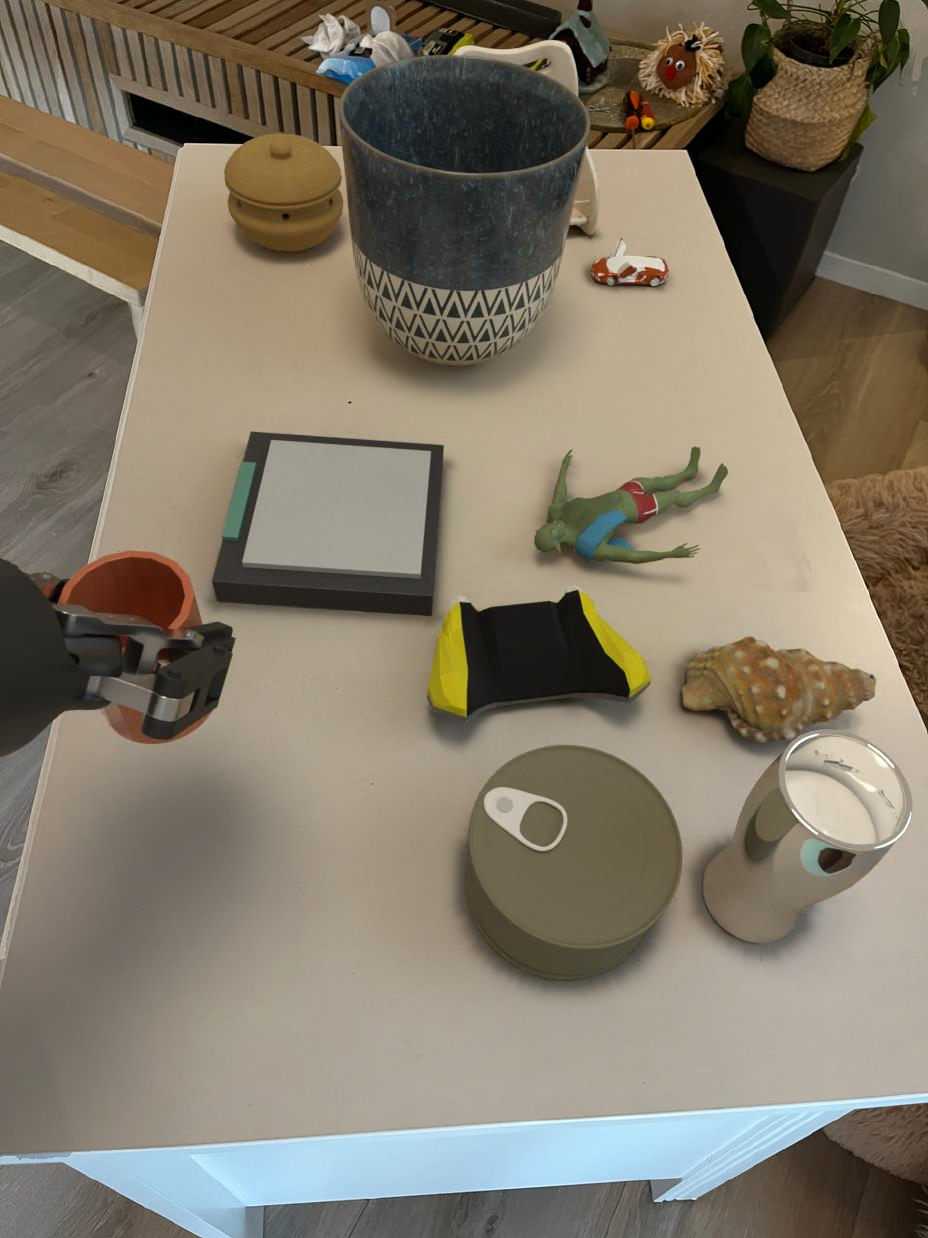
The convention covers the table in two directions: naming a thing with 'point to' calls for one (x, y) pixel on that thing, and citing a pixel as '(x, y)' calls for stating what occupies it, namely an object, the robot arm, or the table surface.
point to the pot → (284, 191)
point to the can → (569, 861)
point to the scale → (332, 525)
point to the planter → (459, 199)
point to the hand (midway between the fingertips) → (163, 621)
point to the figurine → (618, 515)
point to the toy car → (629, 268)
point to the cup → (136, 612)
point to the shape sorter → (566, 74)
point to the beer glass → (806, 833)
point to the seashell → (772, 688)
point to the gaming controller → (530, 656)
